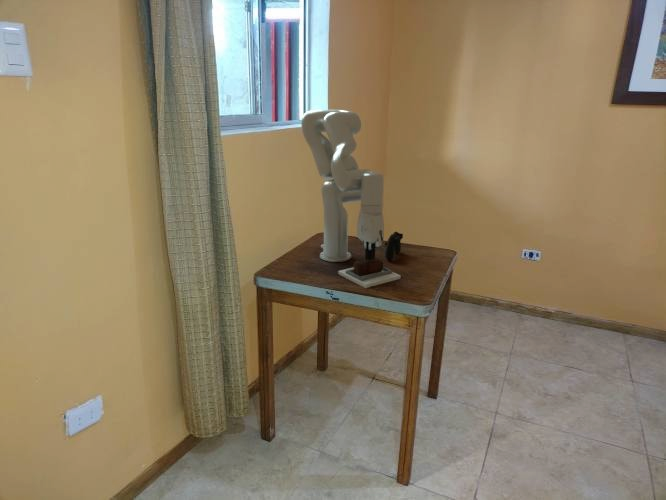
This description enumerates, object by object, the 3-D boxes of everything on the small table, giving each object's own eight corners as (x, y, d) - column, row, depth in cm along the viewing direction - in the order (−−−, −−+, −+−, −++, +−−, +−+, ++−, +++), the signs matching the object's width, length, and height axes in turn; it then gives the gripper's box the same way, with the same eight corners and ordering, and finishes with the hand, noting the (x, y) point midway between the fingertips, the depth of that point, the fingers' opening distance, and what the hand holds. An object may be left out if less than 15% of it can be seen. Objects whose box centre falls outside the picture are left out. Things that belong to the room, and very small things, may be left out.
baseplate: (338, 273, 168) (338, 268, 167) (372, 265, 176) (372, 260, 176) (365, 288, 155) (365, 282, 155) (400, 278, 164) (400, 272, 163)
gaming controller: (389, 250, 194) (391, 228, 191) (403, 252, 192) (405, 229, 189) (380, 261, 182) (381, 236, 179) (395, 263, 180) (396, 238, 177)
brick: (359, 277, 162) (360, 264, 160) (353, 273, 165) (353, 261, 163) (383, 271, 167) (383, 259, 166) (376, 268, 170) (377, 256, 169)
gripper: (349, 206, 162) (349, 255, 167) (377, 214, 150) (375, 267, 156) (366, 203, 166) (365, 252, 171) (394, 211, 154) (391, 262, 160)
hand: (370, 259), depth 164 cm, fingers closed
